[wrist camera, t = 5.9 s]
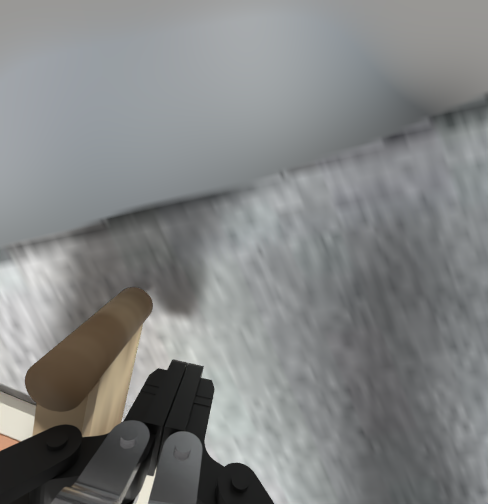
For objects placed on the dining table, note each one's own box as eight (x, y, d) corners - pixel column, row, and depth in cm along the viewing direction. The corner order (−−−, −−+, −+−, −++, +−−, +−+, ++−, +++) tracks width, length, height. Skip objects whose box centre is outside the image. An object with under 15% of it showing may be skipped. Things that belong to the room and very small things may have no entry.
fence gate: (113, 477, 17) (43, 627, 11) (84, 470, 17) (-2, 616, 11) (156, 293, 14) (88, 369, 8) (120, 283, 14) (27, 353, 8)
